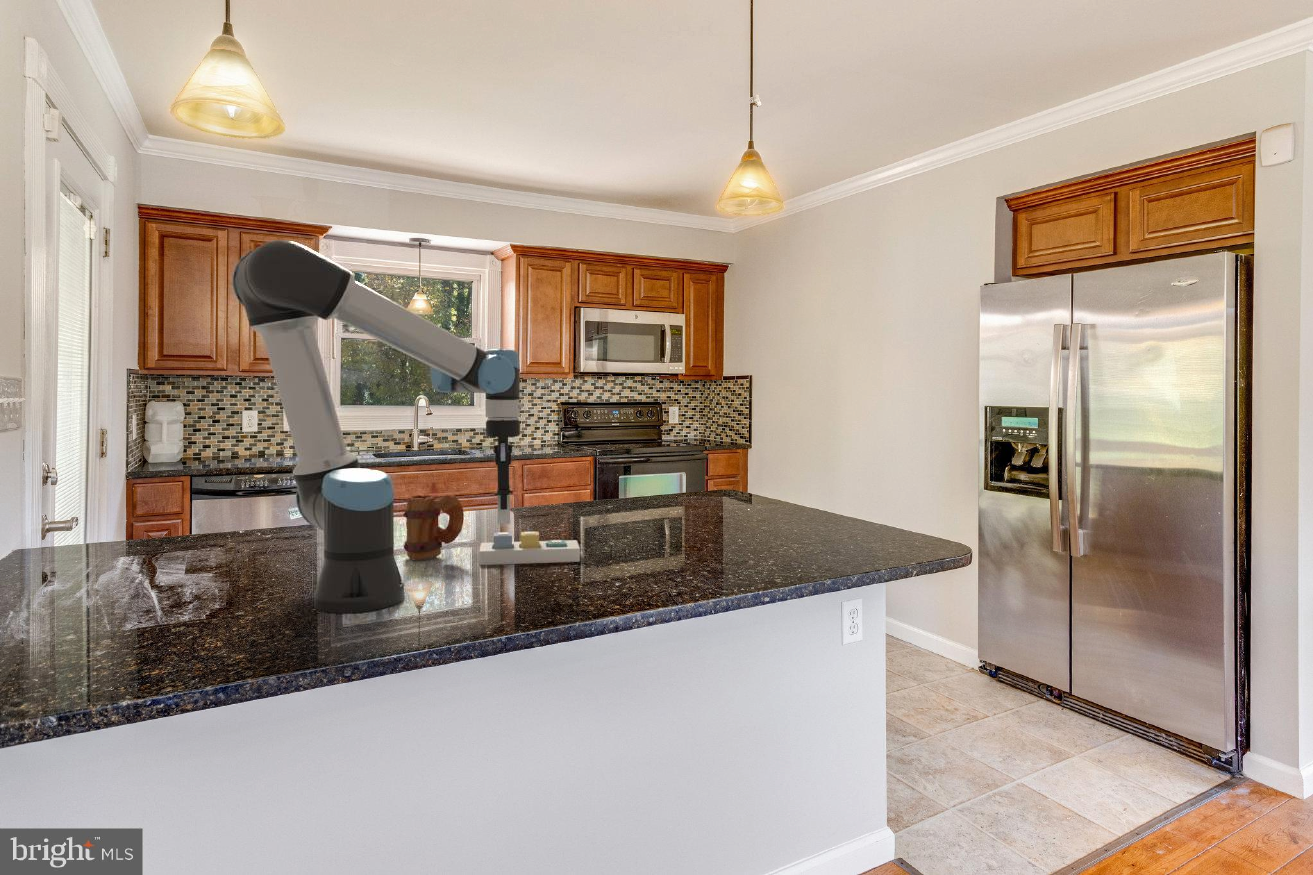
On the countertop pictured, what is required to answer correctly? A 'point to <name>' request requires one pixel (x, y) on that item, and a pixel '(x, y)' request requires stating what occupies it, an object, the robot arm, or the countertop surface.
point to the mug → (431, 524)
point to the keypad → (529, 554)
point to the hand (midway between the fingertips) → (504, 522)
